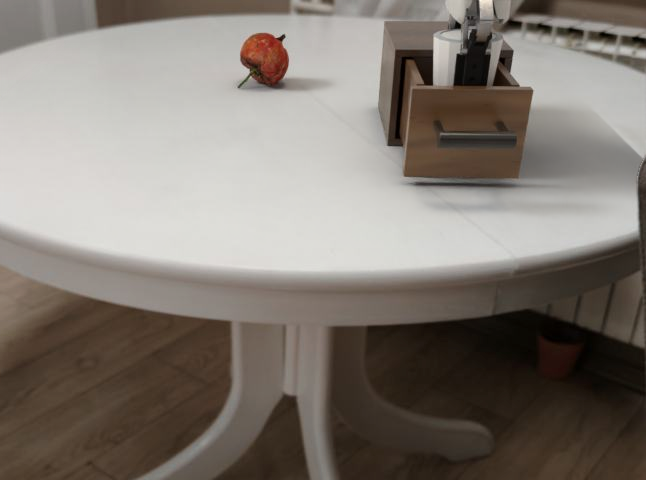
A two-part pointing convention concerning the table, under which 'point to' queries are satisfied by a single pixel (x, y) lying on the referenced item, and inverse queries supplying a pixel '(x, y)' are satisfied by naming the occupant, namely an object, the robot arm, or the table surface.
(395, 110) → the cabinet
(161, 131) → the table surface
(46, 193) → the table surface
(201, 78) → the table surface
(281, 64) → the pomegranate
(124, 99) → the table surface
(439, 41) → the white cup
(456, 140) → the drawer
